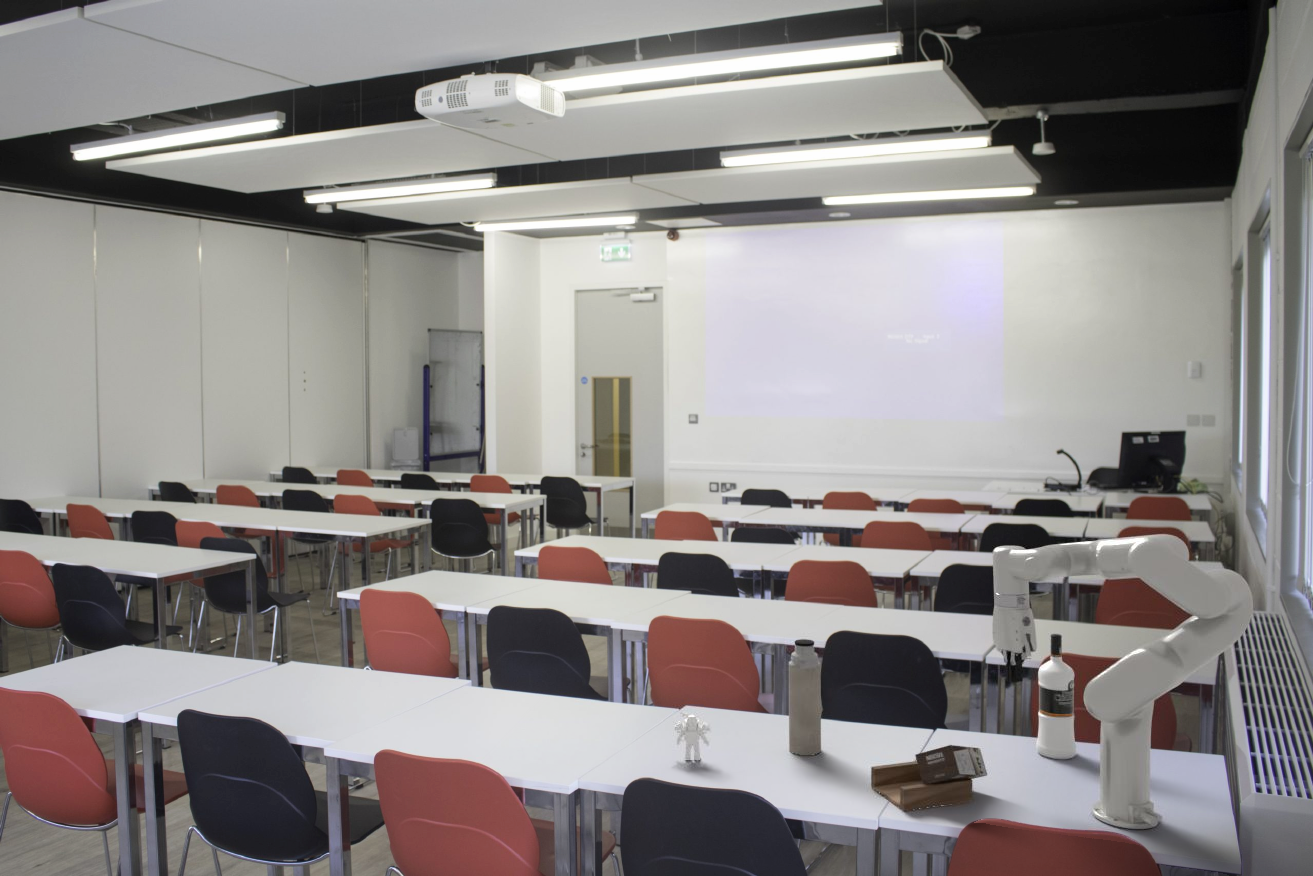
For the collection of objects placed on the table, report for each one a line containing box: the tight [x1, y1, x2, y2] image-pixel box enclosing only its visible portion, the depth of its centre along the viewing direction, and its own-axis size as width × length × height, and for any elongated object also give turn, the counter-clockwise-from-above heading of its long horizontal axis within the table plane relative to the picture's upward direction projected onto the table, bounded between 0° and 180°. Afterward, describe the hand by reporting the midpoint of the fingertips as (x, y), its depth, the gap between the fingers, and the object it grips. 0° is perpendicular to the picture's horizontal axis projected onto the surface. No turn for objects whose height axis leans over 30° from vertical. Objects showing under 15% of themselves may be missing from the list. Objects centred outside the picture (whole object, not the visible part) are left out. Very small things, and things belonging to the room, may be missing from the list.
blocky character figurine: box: [673, 711, 712, 761], centre depth 242 cm, size 9×4×12 cm, turn 80°
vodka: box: [1035, 633, 1077, 761], centre depth 243 cm, size 9×9×30 cm
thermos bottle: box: [788, 638, 822, 756], centre depth 247 cm, size 8×8×28 cm
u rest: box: [870, 760, 973, 812], centre depth 218 cm, size 14×17×5 cm
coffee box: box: [914, 744, 988, 783], centre depth 217 cm, size 9×6×16 cm
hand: (1014, 681), depth 222 cm, fingers closed
